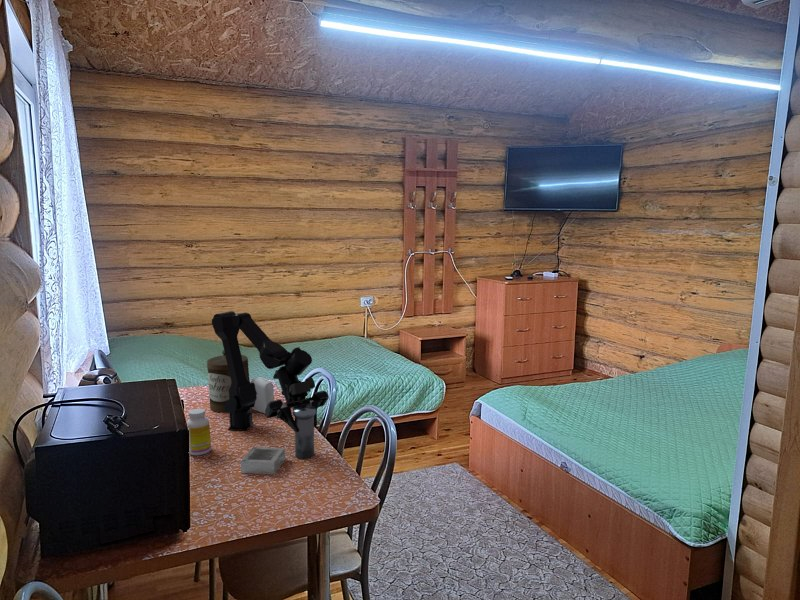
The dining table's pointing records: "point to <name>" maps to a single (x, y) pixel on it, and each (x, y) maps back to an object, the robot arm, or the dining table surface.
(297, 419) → the dark grey metal cylinder
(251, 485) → the dining table surface
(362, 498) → the dining table surface
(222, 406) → the wooden container
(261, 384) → the white rounded block
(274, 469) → the gray square frame
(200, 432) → the supplement bottle
